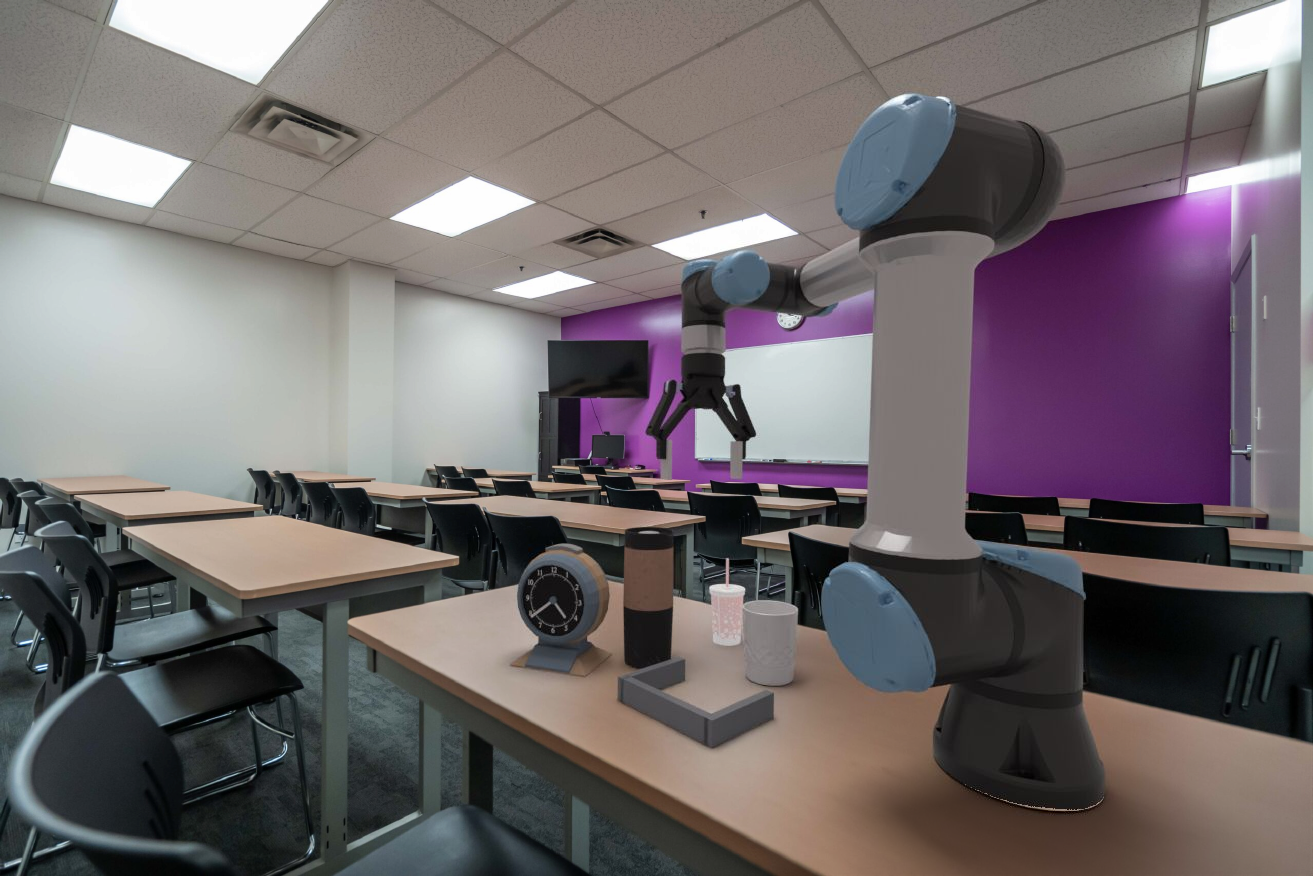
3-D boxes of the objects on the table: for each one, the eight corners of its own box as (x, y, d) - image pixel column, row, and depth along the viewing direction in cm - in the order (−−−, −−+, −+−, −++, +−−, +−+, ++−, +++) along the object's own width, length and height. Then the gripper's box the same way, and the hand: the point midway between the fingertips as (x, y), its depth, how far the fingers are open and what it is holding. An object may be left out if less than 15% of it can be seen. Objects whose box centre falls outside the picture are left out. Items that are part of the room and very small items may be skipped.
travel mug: (616, 655, 93) (618, 527, 94) (661, 650, 96) (663, 526, 96) (631, 673, 86) (633, 534, 86) (680, 666, 89) (681, 532, 89)
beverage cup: (751, 640, 101) (752, 558, 102) (732, 649, 97) (733, 563, 97) (721, 633, 105) (722, 553, 105) (701, 641, 101) (702, 558, 101)
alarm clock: (504, 665, 89) (506, 546, 89) (537, 644, 98) (539, 537, 98) (591, 678, 84) (593, 553, 84) (618, 655, 93) (619, 542, 94)
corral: (679, 677, 85) (679, 656, 85) (773, 717, 73) (774, 692, 73) (617, 699, 77) (617, 676, 77) (711, 748, 65) (712, 720, 65)
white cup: (732, 670, 88) (733, 602, 88) (780, 664, 90) (780, 598, 90) (757, 691, 80) (757, 616, 81) (808, 684, 83) (808, 612, 83)
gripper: (752, 362, 110) (751, 477, 110) (627, 351, 100) (625, 478, 99) (776, 356, 104) (775, 479, 103) (645, 344, 93) (643, 481, 93)
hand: (702, 479), depth 101 cm, fingers open, 13 cm apart
